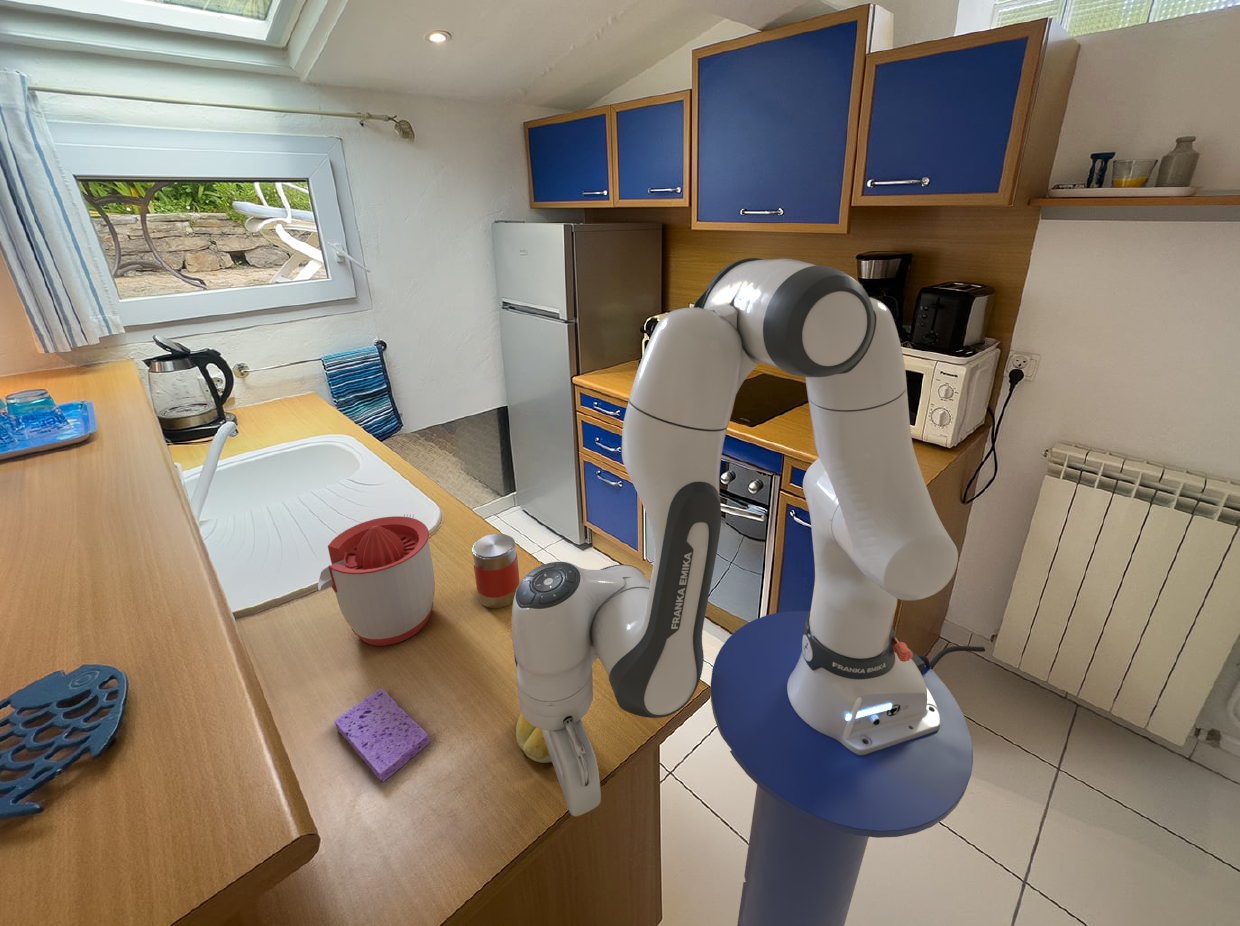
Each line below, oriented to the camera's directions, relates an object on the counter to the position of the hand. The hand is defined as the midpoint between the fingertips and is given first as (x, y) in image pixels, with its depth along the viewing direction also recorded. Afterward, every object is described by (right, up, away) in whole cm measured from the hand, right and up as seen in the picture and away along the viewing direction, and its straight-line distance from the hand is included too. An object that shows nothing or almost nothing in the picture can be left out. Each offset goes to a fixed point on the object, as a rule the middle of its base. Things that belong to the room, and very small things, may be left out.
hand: (561, 765), depth 70 cm
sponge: (-26, +1, +5) cm, 26 cm away
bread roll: (-3, 0, +6) cm, 6 cm away
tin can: (-17, +12, +32) cm, 38 cm away
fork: (-44, +18, +47) cm, 67 cm away
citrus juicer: (-34, +9, +25) cm, 43 cm away
